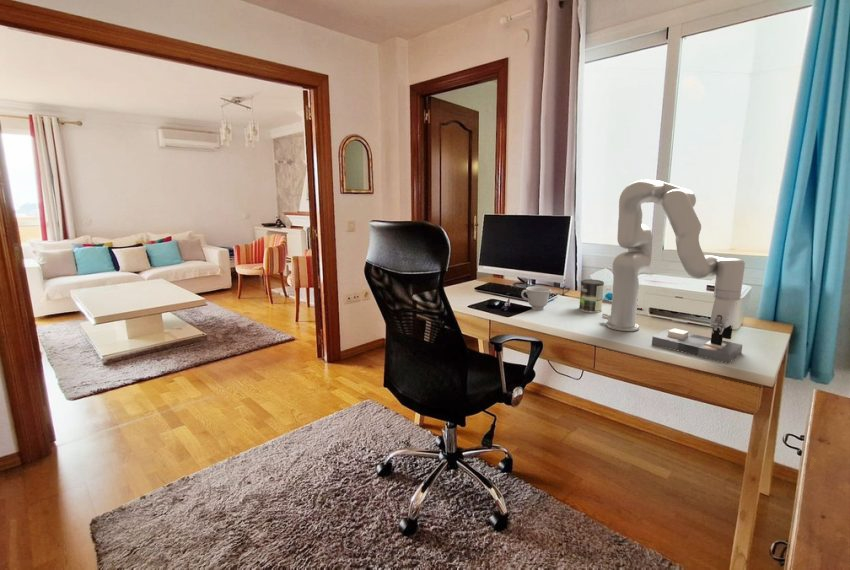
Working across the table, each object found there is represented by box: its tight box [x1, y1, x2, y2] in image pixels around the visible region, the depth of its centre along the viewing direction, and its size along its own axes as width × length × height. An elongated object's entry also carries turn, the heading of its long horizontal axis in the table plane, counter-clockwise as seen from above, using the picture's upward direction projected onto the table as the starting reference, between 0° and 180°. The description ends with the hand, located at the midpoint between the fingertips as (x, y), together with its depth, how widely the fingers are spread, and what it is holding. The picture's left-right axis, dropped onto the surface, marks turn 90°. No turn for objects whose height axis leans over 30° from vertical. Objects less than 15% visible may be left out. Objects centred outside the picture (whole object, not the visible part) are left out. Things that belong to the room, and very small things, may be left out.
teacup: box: [520, 285, 552, 311], centre depth 205 cm, size 12×15×10 cm
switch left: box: [668, 327, 689, 340], centre depth 155 cm, size 5×5×3 cm
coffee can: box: [578, 278, 605, 314], centre depth 201 cm, size 10×10×14 cm
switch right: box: [705, 341, 727, 349], centre depth 146 cm, size 5×5×3 cm
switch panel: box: [651, 328, 743, 364], centre depth 150 cm, size 24×14×3 cm, turn 39°
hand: (720, 341), depth 148 cm, fingers open, 9 cm apart
